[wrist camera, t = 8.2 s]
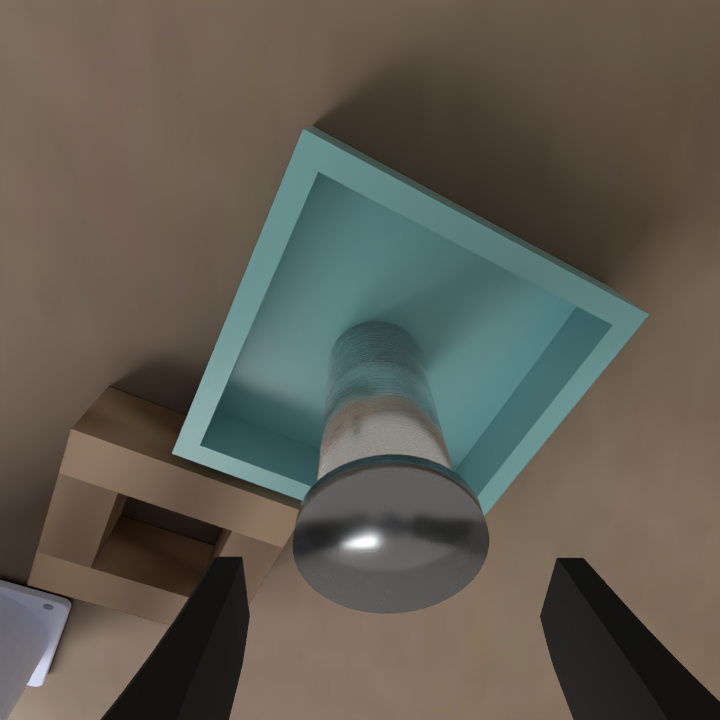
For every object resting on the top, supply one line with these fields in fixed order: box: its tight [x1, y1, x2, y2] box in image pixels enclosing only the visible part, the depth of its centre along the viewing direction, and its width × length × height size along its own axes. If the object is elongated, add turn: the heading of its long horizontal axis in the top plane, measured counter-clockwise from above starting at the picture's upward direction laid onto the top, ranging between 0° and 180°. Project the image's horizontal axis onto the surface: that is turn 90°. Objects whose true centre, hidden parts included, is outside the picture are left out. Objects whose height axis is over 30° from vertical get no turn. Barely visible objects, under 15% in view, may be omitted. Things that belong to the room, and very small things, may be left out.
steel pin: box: [293, 321, 489, 613], centre depth 15 cm, size 4×4×9 cm
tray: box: [172, 126, 649, 516], centre depth 18 cm, size 12×12×3 cm
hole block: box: [27, 387, 302, 626], centre depth 21 cm, size 9×9×3 cm
